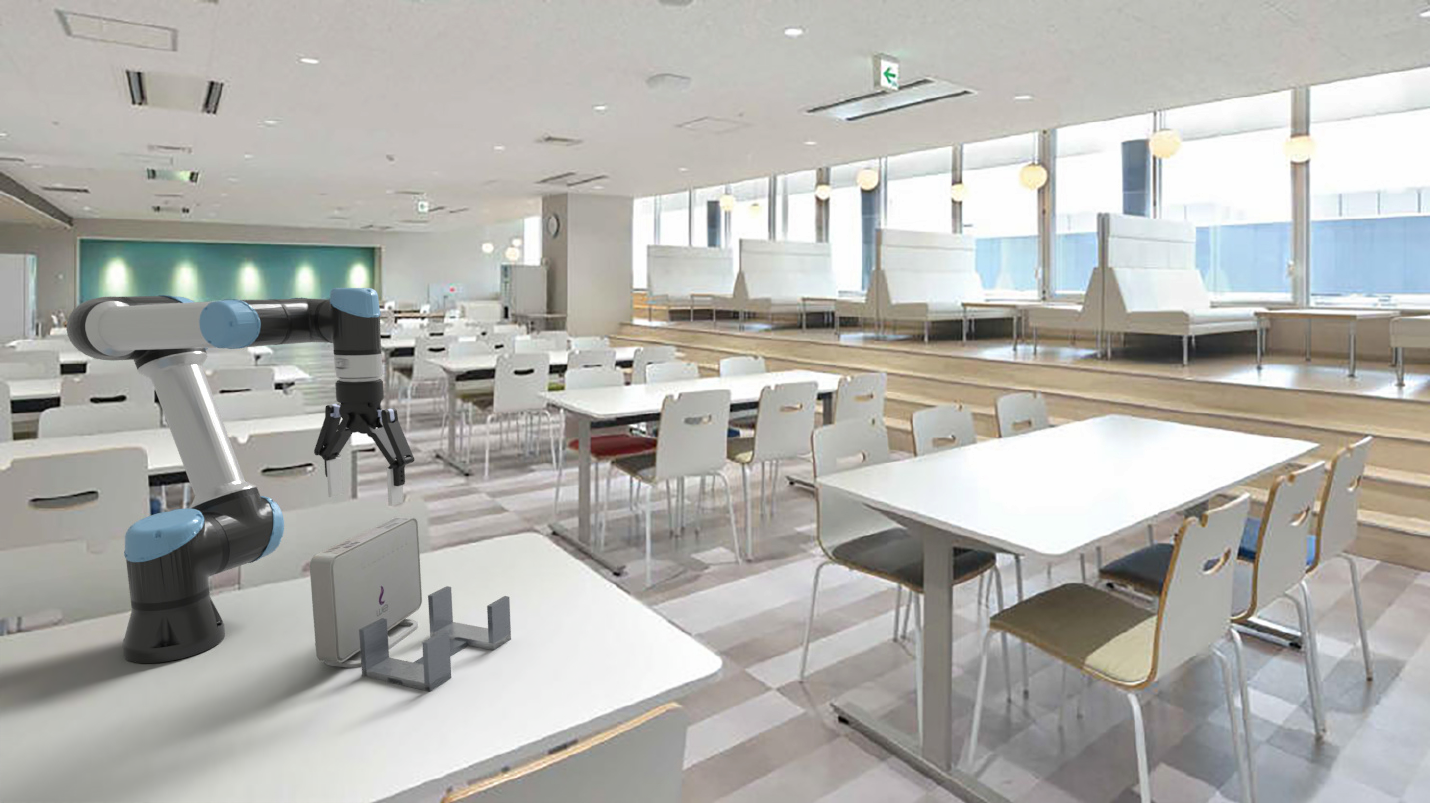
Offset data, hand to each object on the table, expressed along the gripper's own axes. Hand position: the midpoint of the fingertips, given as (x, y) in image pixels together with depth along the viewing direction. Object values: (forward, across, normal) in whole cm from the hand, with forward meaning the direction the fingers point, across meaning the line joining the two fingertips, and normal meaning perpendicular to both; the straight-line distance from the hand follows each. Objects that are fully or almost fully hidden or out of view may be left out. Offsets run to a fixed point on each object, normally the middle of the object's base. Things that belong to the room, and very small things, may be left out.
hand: (365, 499), depth 143 cm
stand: (+26, +15, 0) cm, 30 cm away
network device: (+27, 0, 0) cm, 27 cm away
